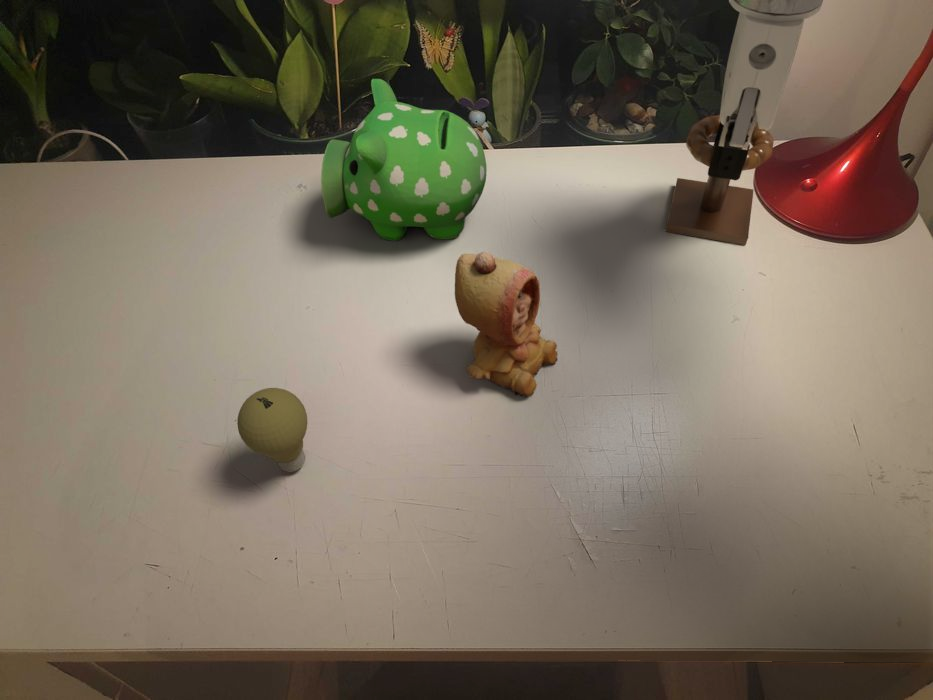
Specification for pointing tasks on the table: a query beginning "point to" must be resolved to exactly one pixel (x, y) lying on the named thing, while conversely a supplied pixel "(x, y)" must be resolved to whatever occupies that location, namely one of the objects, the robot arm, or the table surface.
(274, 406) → the light bulb
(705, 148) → the ring
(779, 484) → the table surface
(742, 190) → the post
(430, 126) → the piggy bank
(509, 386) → the figurine
